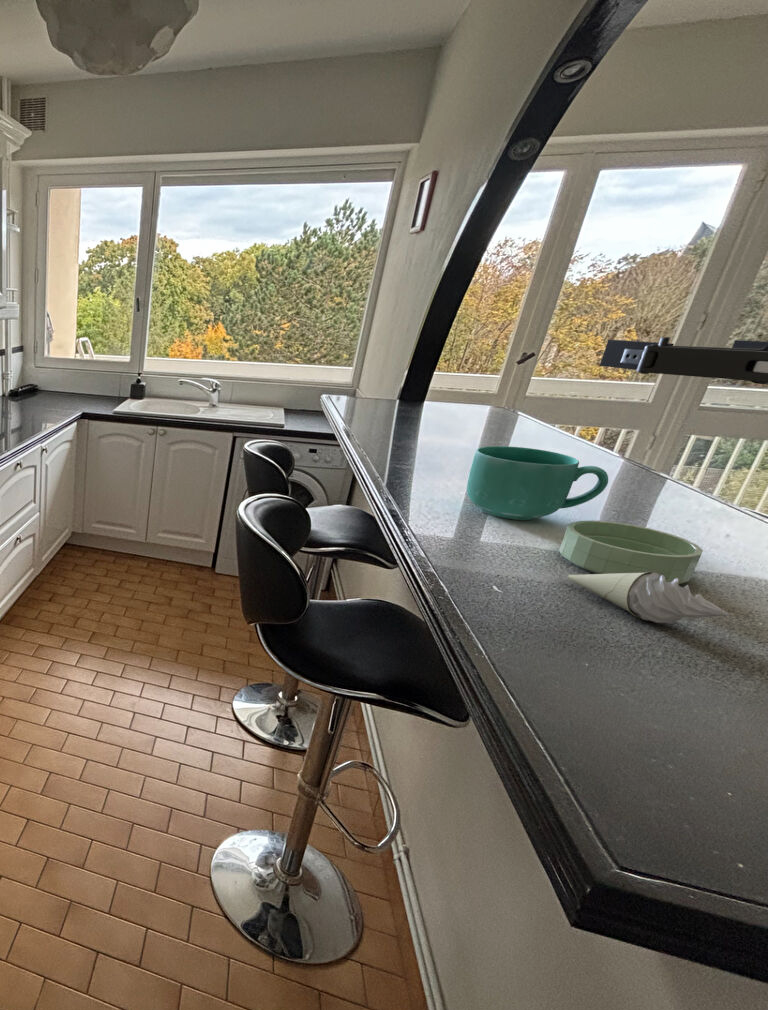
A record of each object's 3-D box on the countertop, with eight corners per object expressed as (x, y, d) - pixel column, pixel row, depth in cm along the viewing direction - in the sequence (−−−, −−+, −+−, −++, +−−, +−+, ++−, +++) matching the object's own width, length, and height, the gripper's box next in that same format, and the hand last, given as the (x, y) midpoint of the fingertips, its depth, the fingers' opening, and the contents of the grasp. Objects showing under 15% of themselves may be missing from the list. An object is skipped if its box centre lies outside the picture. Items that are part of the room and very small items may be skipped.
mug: (456, 515, 92) (473, 456, 89) (463, 496, 102) (479, 442, 98) (595, 539, 83) (619, 474, 80) (589, 516, 92) (611, 457, 89)
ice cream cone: (546, 597, 70) (704, 639, 55) (555, 555, 69) (717, 587, 54) (582, 598, 70) (746, 640, 56) (591, 556, 70) (760, 588, 55)
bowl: (670, 560, 76) (683, 531, 75) (704, 597, 67) (719, 565, 65) (551, 541, 82) (561, 514, 81) (567, 573, 73) (578, 543, 71)
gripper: (754, 423, 46) (543, 387, 66) (1078, 425, 46) (769, 388, 65) (800, 321, 43) (566, 315, 63) (1146, 322, 43) (802, 316, 63)
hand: (669, 353), depth 64 cm, fingers open, 13 cm apart
